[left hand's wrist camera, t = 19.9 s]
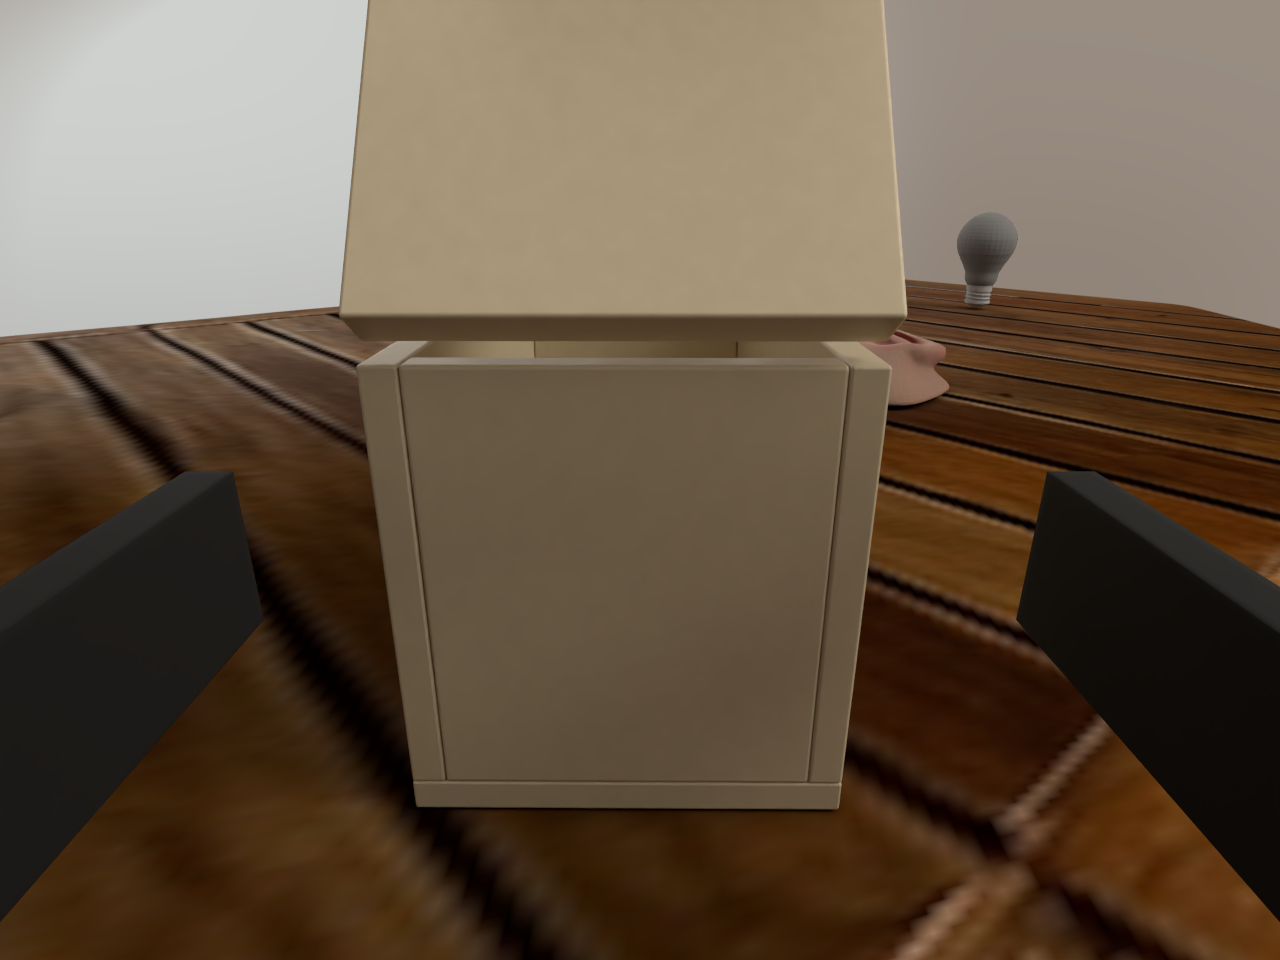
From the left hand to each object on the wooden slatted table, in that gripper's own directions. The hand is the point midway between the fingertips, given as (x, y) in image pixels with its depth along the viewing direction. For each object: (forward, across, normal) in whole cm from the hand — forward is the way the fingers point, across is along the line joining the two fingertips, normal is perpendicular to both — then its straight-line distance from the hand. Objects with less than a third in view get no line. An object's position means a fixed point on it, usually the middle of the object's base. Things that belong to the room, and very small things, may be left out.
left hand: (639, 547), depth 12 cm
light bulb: (+75, +38, -7) cm, 84 cm away
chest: (+10, 0, -7) cm, 12 cm away
